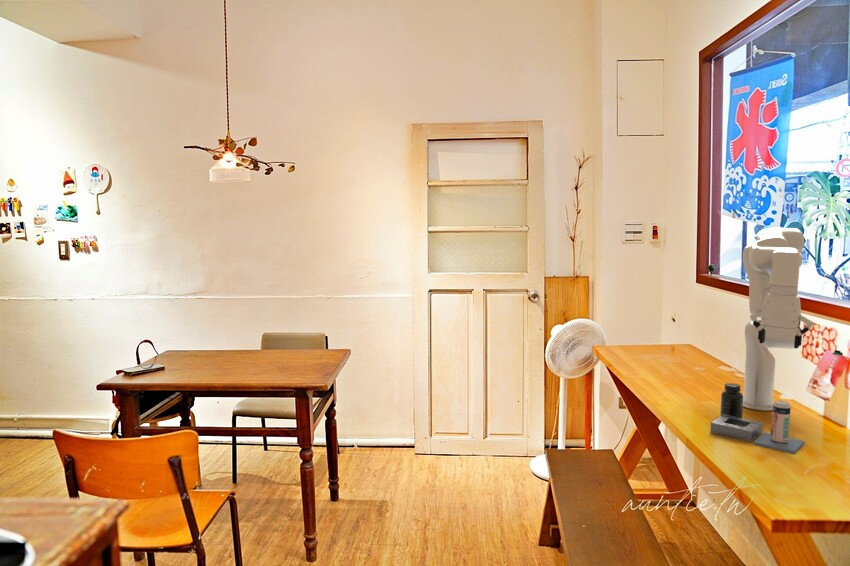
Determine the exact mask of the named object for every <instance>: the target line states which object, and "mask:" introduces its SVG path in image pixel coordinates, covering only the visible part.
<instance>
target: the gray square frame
mask: <svg viewBox="0 0 850 566" xmlns="http://www.w3.org/2000/svg"><path fill="white" fill-rule="evenodd" d="M709 429H710V434H712V435H717V436H722V437H725V438H729V439H733V440H737V441H742V440H744V441H743V442H746V441H747V442H746V443H750V442H751V443H753V442H754V441H755V440H757V439H758V438H759V437H760V436H761V435H763V434H764V433H763V431H764V422H762V421H758V420H753V419H749V418H744V417H742V418H740V417H735V416H730V415H725V414H723V415H722V416H719V417H717V418H716V419H714V420H713V421H711V422H710V428H709Z"/></svg>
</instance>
